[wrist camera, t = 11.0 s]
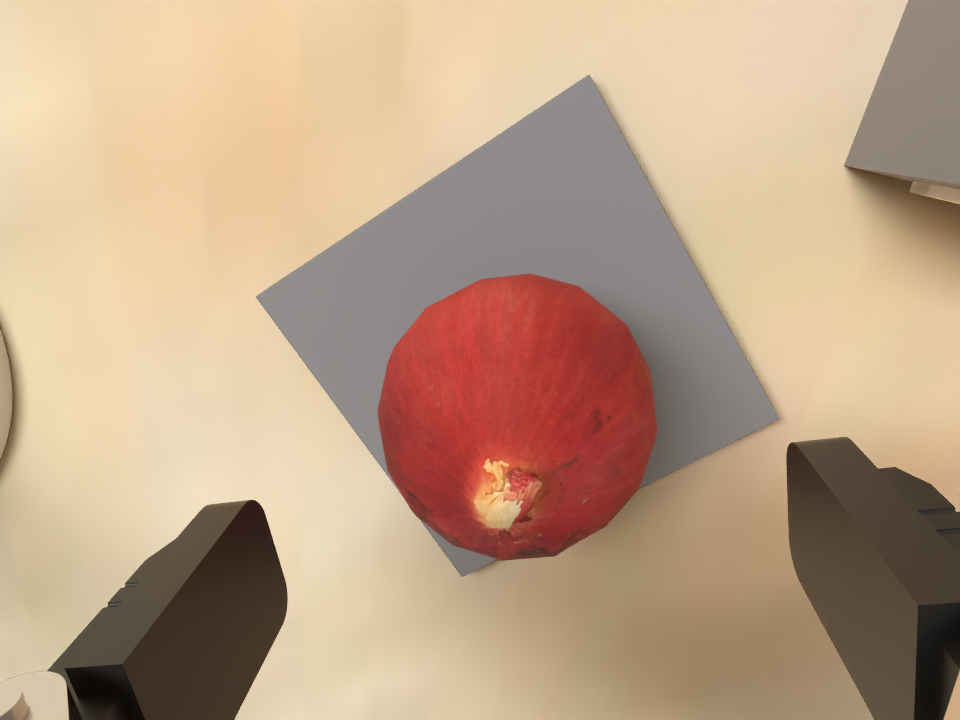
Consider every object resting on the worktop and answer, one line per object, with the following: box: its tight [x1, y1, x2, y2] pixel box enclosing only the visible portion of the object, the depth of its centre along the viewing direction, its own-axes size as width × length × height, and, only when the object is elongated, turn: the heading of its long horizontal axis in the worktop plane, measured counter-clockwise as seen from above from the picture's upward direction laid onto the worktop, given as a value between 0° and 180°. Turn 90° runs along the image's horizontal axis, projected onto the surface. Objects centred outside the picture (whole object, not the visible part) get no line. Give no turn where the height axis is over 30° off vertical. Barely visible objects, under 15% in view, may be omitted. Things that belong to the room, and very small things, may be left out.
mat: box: [256, 75, 779, 577], centre depth 19 cm, size 10×10×1 cm
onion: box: [377, 274, 657, 560], centre depth 15 cm, size 6×6×8 cm
